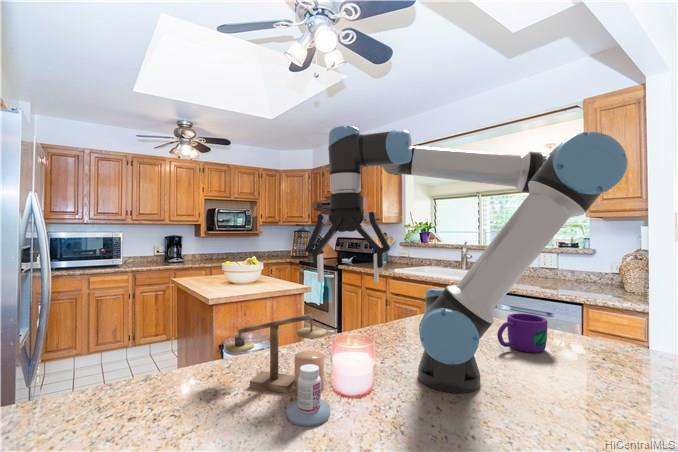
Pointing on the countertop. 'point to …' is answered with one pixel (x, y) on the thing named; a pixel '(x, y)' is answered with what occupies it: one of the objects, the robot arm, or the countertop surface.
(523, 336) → the mug
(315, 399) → the pill bottle
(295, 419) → the grey smooth pebble
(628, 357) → the countertop surface
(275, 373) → the balance
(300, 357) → the tan upright cylinder
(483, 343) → the countertop surface
